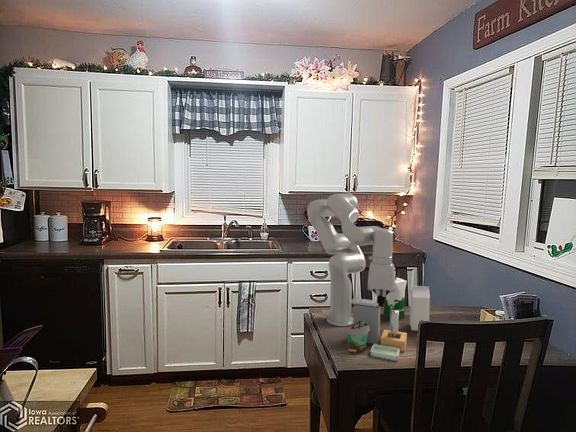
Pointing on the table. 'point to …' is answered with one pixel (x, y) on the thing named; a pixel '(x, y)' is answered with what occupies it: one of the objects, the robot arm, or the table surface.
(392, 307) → the soya milk
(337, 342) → the table surface
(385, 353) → the tray
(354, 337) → the food container
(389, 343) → the hitch
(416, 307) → the milk carton
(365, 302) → the keeper plate
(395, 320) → the pin
